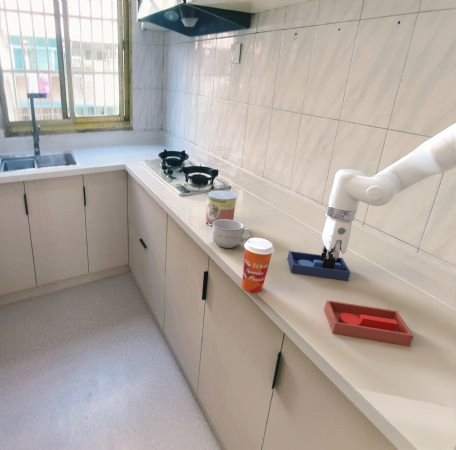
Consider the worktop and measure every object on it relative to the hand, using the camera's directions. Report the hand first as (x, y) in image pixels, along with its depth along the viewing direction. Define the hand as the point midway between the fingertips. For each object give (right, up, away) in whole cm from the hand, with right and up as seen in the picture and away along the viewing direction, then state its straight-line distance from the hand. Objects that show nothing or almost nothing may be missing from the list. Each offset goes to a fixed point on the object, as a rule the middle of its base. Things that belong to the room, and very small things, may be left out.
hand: (325, 266), depth 105 cm
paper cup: (-26, -5, -9) cm, 28 cm away
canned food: (-27, +14, +33) cm, 45 cm away
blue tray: (-3, -1, +1) cm, 3 cm away
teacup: (-27, +6, +14) cm, 31 cm away
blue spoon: (-2, 0, +1) cm, 3 cm away
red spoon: (-3, -11, -24) cm, 26 cm away
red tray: (-3, -12, -23) cm, 26 cm away
